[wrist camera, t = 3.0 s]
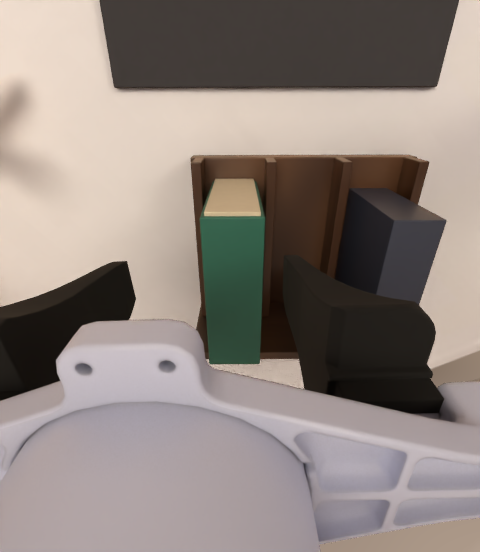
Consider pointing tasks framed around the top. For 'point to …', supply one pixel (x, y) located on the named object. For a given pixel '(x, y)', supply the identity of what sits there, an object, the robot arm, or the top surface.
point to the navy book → (387, 244)
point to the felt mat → (277, 42)
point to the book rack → (298, 217)
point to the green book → (233, 270)
